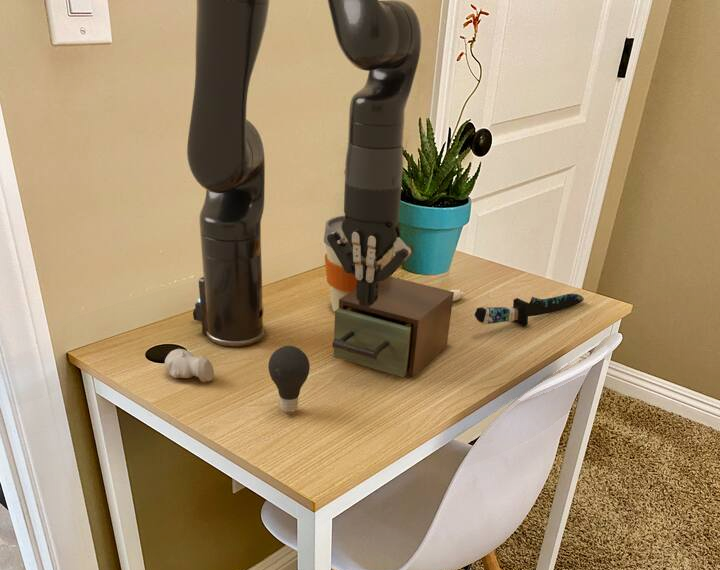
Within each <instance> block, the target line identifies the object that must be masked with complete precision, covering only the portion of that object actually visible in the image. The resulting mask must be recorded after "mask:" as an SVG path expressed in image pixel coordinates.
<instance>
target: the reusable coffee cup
mask: <svg viewBox="0 0 720 570" xmlns="http://www.w3.org/2000/svg"><path fill="white" fill-rule="evenodd" d="M344 218H345V215H339V216H335V217H331V218H330V219H328V220H327V221H325V227H324V234H323V242H324V244H325V250H326V253H325V255H324V262H325V263H324V265H325V274H326V275H325V276H326V282H327V284H328V285H329V291H330V292H329V293H330V301H331V309H332V311H333V312H334V313H335V310H337V309H338V308H339V299H340V298H342V297H343V296H345V295H347V294H348V293H350V292H351V291H353V290H354V289H356V288H357V279H356V277H355V275H353V274H352V273H346V272H345V270H344V268H343V266H342V265H341V263H340V261H339V259H338V258H337V256H336V254H335V252H334V251H333V249H332V247H331V245H330V244H329V242H328V240H327V237H328V235H330V234H331V233H333V232H335V231H337V230H339V229H341V228H342V227H341V225H342V222H343V220H344ZM348 243H349V242H348ZM349 245H350V244H349ZM350 247H351V246H350ZM351 249H352V248H351ZM393 250H394V245H393V247H392V248H391V249H390V250H389V251H388V252H387V254H386V255H385V260H384V262H383V264H382V269H383V268H384V267H385V266H386V265H387V264H388V263H389V262H390V261H391V259H392V258H393V256H392V251H393Z"/></svg>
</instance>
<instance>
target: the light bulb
mask: <svg viewBox="0 0 720 570" xmlns="http://www.w3.org/2000/svg"><path fill="white" fill-rule="evenodd" d="M309 360H310V359H309V358H308V356H307V354H306V353H305V352H304V351H303V350H302V349H301V348H300V347H297V346H294V345H283V346H280V347H279V348H277V349H276V350H274V352H272V354H271V356H270V357H269V360H268V367H267V369H268V373H269V376H270V379H271V380H272V381H273V383H274V384H275V386H276V388H277V392H278V396H279V401H280V402H279V407H280V409H281V410H282V411H284V412H285V413H286V414H293V412H295V411H296V410H298V406H299V396H300V393H301V389H302V387H303V385H304V384H305V382H306V381H307V379H308V377H309V376H310V375H309V374H310V371H311V366H310V361H309Z"/></svg>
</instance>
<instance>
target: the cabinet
mask: <svg viewBox="0 0 720 570" xmlns="http://www.w3.org/2000/svg"><path fill="white" fill-rule="evenodd" d="M356 291H357V288H356V289H354V290H353V291H351V292H350V293H348V294H347V295H345V296H343V297H342V298H340V299H339V308H341V309H344V310H347V307H352V308H355V309H359V310H363V311H367V312H370V313H374V314H378V315H381V316H385V317H389V318H393V319H396V320H400V321H404V322H407V323H411V324H413V332H412V342H411V352H410V362H409V366H408V367H407V374H406V375H405V376H404V377H408V378H411V379H413V378H414V377H415V376H416V375H417V374H418V373H420V372H421V371H422V370H423V369H424V368H425V367H426V366H427V365H428V364H429V363H430V362H432V361H433V359H435V358H436V357H437V356H438V355H440V353H442V352H443V351H444V350H445V349H446V348H447V347H448V340H449V339H448V338H449V331H450V324H451V318H452V317H451V316H452V309H453V302H454V301H453V295H454V292H452V291H451V290H448V289H443V288H440V287H436V286H430V285H427V284H423V283H419V282H416V281H411V280H407V279H403V278H399V277H395V276H392V275H391V276H390V277H388V278H387V279H385V280H384V281H379V290H378V299H377V301H375V302H374V304H372V305H371V306H370V307H367V306H363V305H360V304H359V300H357V297H356V293H357V292H356Z"/></svg>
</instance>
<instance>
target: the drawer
mask: <svg viewBox="0 0 720 570" xmlns="http://www.w3.org/2000/svg"><path fill="white" fill-rule="evenodd" d="M333 329H334V332H333V333H334V334H333V341H332V343H331V345H332V346H331V347H332V348H333V357H334V358H337V359H341V360H344V361H348V362H351V363H354V364H357V365H360V366H364V367H366V368H367V367H368V368H371V369H374V370H378V371H381V372H384V373H387V374H391V375H394V376H397V377H402V378H404V377H406V376H405V375H406V374H407V367H408V366H409V362H410V352H411V342H412V332H413V324H411V323H407V322H404V321H400V320H396V319H393V318H389V317H385V316H381V315H378V314H374V313H370V312H367V311H363V310H359V309H355V308H352V307H347V310H344V309H341V308H338V309H337V310H335V312H334V328H333Z"/></svg>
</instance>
